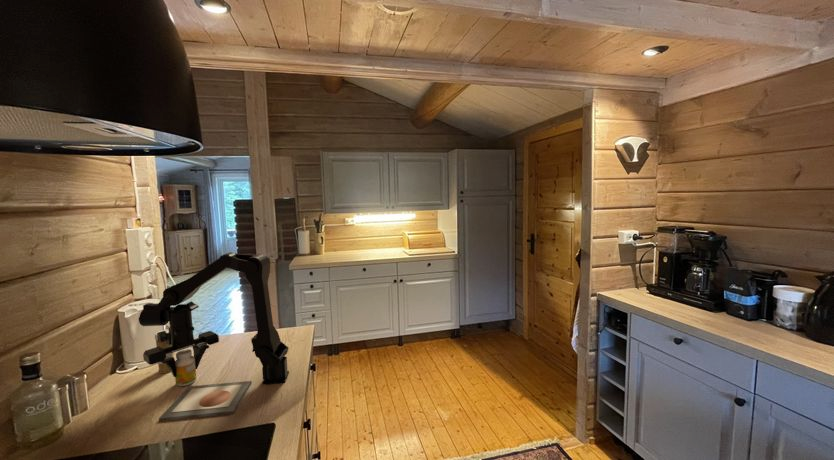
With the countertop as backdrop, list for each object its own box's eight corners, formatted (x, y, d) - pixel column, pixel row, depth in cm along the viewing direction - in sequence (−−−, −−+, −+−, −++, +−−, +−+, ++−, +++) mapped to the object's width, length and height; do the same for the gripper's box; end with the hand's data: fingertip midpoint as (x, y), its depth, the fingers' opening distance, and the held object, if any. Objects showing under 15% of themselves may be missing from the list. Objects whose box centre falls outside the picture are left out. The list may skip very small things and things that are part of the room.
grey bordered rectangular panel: (251, 383, 106) (251, 379, 105) (233, 413, 91) (233, 409, 91) (188, 388, 103) (188, 385, 103) (159, 421, 88) (158, 417, 88)
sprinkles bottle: (174, 371, 114) (171, 332, 112) (157, 375, 111) (153, 335, 110) (175, 365, 117) (171, 328, 116) (158, 369, 115) (155, 331, 113)
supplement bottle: (171, 384, 105) (168, 354, 104) (189, 375, 110) (186, 347, 109) (183, 388, 103) (180, 357, 102) (200, 379, 108) (198, 349, 107)
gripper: (202, 310, 117) (206, 354, 118) (134, 328, 102) (139, 378, 103) (218, 317, 110) (221, 363, 112) (147, 337, 95) (152, 389, 97)
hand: (185, 372), depth 106 cm, fingers closed on supplement bottle, 5 cm apart
